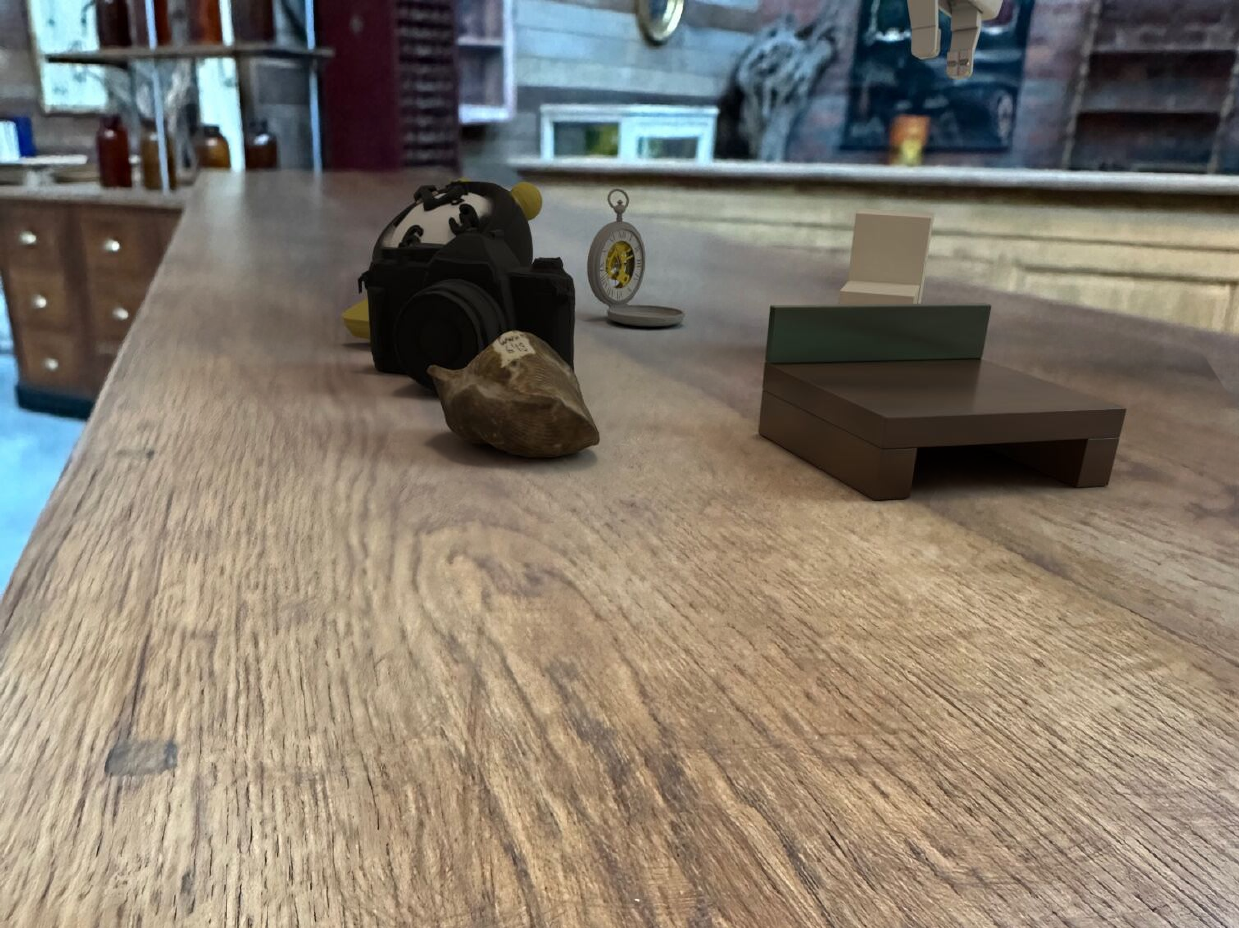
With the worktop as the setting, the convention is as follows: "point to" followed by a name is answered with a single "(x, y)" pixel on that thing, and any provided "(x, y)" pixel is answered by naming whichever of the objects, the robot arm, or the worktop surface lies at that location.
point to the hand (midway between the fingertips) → (942, 67)
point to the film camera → (462, 303)
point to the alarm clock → (457, 225)
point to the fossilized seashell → (517, 399)
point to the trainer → (888, 257)
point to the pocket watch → (623, 273)
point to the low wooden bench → (918, 396)
